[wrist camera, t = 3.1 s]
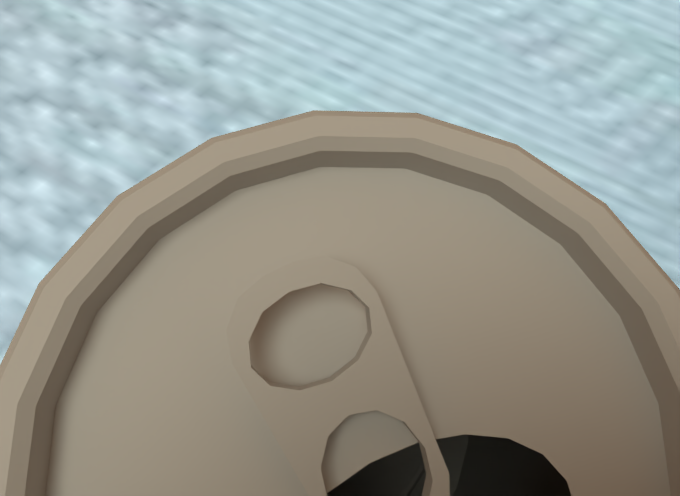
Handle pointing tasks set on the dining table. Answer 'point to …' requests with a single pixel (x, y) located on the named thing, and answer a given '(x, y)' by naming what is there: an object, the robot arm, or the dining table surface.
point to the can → (348, 328)
